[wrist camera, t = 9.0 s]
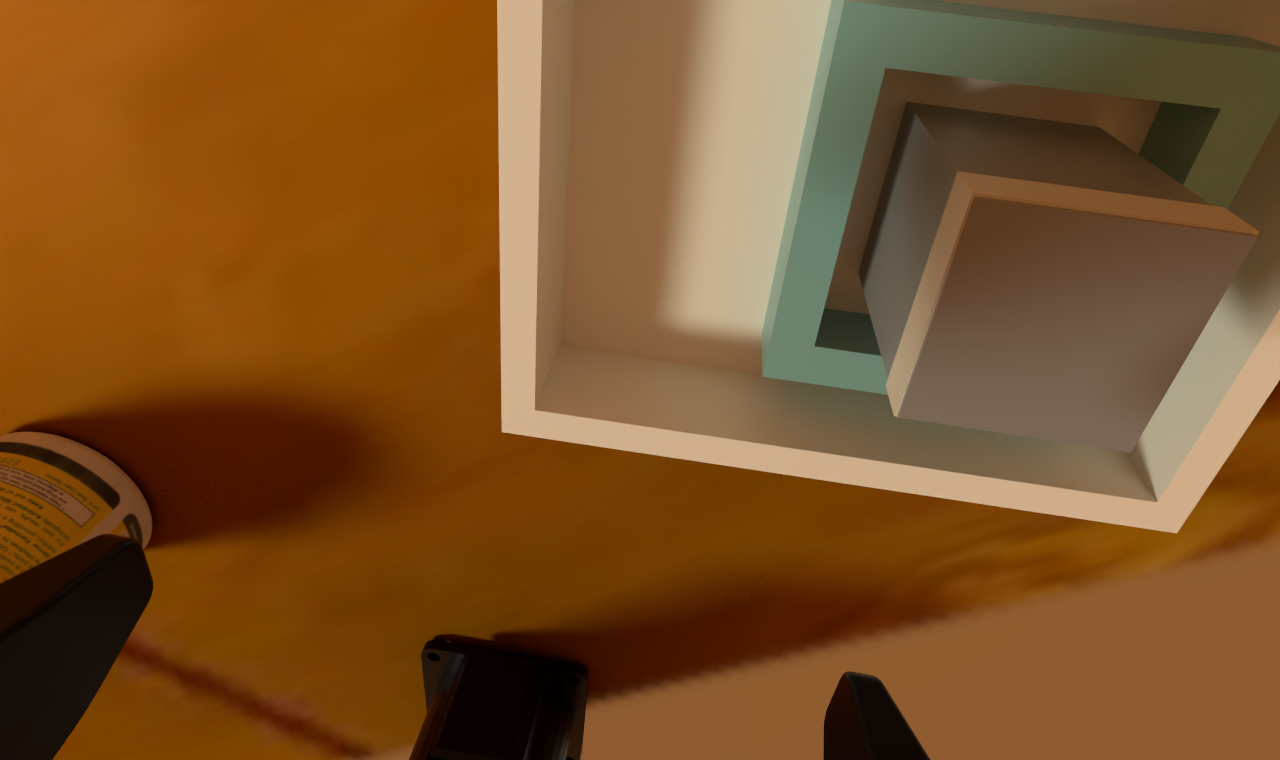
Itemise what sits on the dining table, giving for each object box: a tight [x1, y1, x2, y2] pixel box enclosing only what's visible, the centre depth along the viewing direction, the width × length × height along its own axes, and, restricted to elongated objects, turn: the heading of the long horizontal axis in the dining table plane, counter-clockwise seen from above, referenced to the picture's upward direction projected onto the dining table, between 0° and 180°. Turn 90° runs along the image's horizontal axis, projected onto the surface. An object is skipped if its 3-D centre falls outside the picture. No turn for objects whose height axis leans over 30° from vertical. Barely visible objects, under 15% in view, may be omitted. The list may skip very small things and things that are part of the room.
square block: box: [858, 102, 1259, 453], centre depth 15 cm, size 4×4×6 cm
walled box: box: [497, 0, 1280, 533], centre depth 16 cm, size 12×16×4 cm
